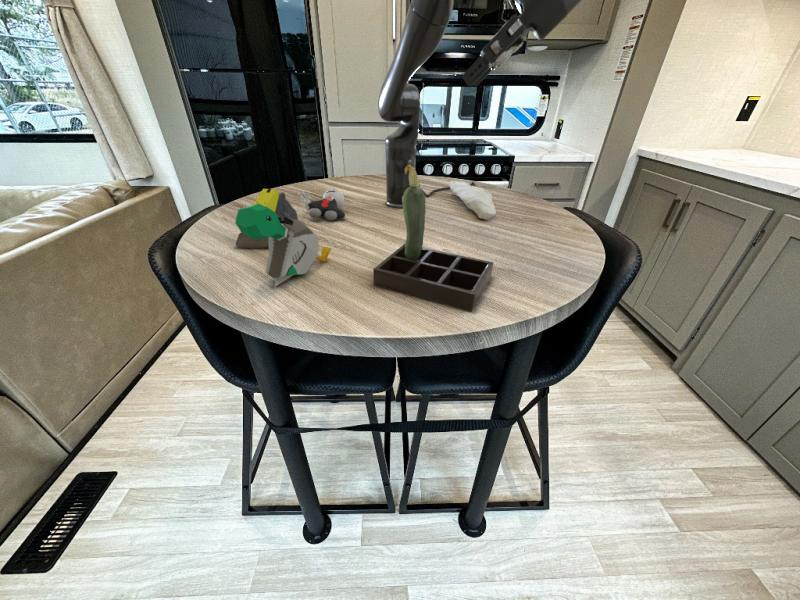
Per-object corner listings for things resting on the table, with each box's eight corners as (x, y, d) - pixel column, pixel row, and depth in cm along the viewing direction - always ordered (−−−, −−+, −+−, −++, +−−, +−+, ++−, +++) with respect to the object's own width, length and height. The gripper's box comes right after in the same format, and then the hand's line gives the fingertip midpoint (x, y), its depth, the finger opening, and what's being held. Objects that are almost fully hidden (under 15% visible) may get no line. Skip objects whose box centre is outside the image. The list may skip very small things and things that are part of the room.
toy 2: (286, 202, 89) (304, 182, 101) (291, 224, 93) (307, 203, 105) (341, 206, 88) (352, 186, 100) (343, 228, 93) (354, 206, 104)
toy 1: (336, 223, 71) (269, 180, 53) (320, 297, 70) (246, 279, 52) (313, 221, 74) (242, 180, 56) (297, 292, 73) (219, 274, 55)
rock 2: (446, 193, 118) (461, 219, 92) (449, 178, 115) (465, 200, 89) (484, 198, 119) (509, 224, 93) (488, 183, 116) (515, 206, 90)
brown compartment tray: (403, 258, 73) (404, 243, 71) (490, 277, 65) (493, 262, 64) (373, 285, 63) (372, 269, 61) (472, 311, 55) (474, 294, 54)
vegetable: (425, 262, 69) (431, 163, 58) (418, 271, 66) (422, 168, 55) (407, 259, 71) (408, 161, 60) (398, 267, 68) (398, 166, 57)
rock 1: (218, 223, 73) (277, 203, 71) (236, 206, 82) (289, 187, 79) (247, 264, 79) (301, 246, 77) (261, 244, 88) (310, 227, 86)
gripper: (538, -21, 53) (461, 66, 62) (544, -49, 42) (448, 61, 51) (563, 21, 55) (484, 99, 64) (576, 4, 43) (477, 101, 52)
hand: (468, 82), depth 57 cm, fingers open, 8 cm apart
